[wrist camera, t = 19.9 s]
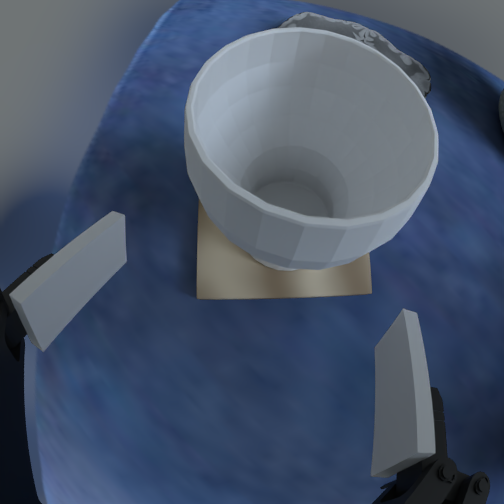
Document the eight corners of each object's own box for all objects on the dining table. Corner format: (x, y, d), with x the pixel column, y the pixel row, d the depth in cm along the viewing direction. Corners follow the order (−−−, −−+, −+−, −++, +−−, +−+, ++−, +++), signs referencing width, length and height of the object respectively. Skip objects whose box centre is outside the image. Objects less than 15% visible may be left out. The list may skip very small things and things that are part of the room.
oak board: (351, 166, 26) (356, 159, 25) (365, 294, 24) (371, 293, 22) (203, 167, 27) (201, 159, 25) (200, 299, 24) (196, 298, 23)
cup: (338, 163, 25) (399, 33, 10) (356, 283, 23) (481, 237, 8) (218, 169, 25) (180, 28, 10) (223, 294, 23) (161, 260, 8)
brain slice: (241, 83, 29) (240, 64, 26) (301, 19, 32) (303, 4, 29) (405, 160, 27) (417, 146, 24) (427, 76, 30) (436, 63, 27)
